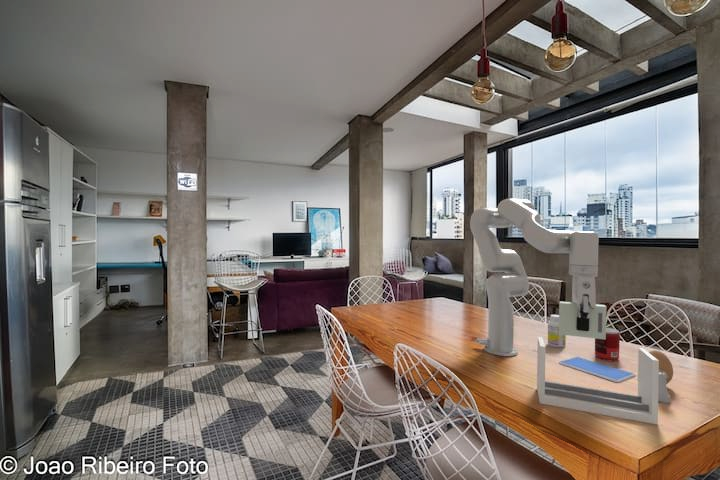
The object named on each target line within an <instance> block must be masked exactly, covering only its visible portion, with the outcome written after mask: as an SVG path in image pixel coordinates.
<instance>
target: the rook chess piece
mask: <svg viewBox="0 0 720 480" xmlns="http://www.w3.org/2000/svg"><path fill="white" fill-rule="evenodd" d="M667 378H668V376H667V373H665V372H663V371H662V373H661V371H659V378H658V403H663V404H669V403H670V402H671V401H672V400H671V395H670V394H669V392H668V389H667V384H666V383H667V381H666V379H667Z"/></svg>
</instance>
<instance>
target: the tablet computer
mask: <svg viewBox="0 0 720 480" xmlns="http://www.w3.org/2000/svg"><path fill="white" fill-rule="evenodd" d="M558 364H559V365H562V366H565V367H568V368H571V369H575V370H578V371H579V372H580V371H581V372H583V373H585V374H586V373H587V374H588V375H589V374H590V375H592V376H596V377H599V378H602V379H605V380H608V381H610V382H614V383H619V384H620V383H622V382H625V381H628V380H630V379H633V378H634V377H636V374H635V373H634V372H630V371H627V370H623V369H620V368H617V367H614V366H610V365H606V364H604V363H600V362H598V361H593V360H589V359H586V358H582V357H580V356H575V357H572V358H568V359H564V360H560V361H559V362H558Z"/></svg>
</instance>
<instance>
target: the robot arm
mask: <svg viewBox="0 0 720 480" xmlns="http://www.w3.org/2000/svg"><path fill="white" fill-rule="evenodd" d="M541 218H542V217H541V215H540V213H539V212H537V211H536V210H535V205H534V204H533V202H532V201H530V200H528V199H524V198H523V199H522V198H521V199H520V198H505V199H502V200H501V201H500V202H499V203H498V205H497V207H480V208H477V209H475V210H474V211H473V213H472V214H471V216H470V219H469V228H470V231H471V233H472V236H473V238H474V240H475V243H476V245H477V248H478V251H479V255H480V259H481V262H482V265H483V267H484V269H485V270H486V271H487V272H490V273H496V274H493V275H491V276H489V277H488V278H487V279H486V282H485V289H486V293H487V300H488V301H487V302H488V314H487V317H488V325H487V326H488V327H487V330H488V331H487V335H488V336H487V338H484V339H483V338H479V337H477V338H476V343H477V344H479V345H483V349H484V351H485V352H486V353H488V354H491V355H494V356H498V357H500V356H501V357H514V356H517V355H518V353H519V352H518V351H519V350H517V348H515V347H514V335H515V334H514V328H515V327H514V326H515V324H514V319H515V318H514V317H515V313H514V310H515V309H514V306H513V303H512V301H511V298H512V297H514V298H515V297H522V296H524V295H527V293H528V292H529V291H530V290H529V289H530V283H529V279H528V275H527V273H526V270H525V267H524V264H523V262H522V259H521V257H520V255H519V254H518V253H517V252H516V251H515V250H512V249H508V248H504V249H503V248H502V247H501V246H500V244H499V240H498V238H497V236H496V234H495V233H494V232H493V231H492V230H491V229H490V228H492V229H495V228H496V229H506V228H509V227H512V226H513V227H515V228H516V229H518V230H519V231H521V235H522V237H523V239H524V241H525V242H527V243H528V244H529V245H531V246H532V247H533V248H535V249H536V250H538V251H540V252H543V253H546V254H569V257H568V258H569V259H568V260H569V261H568V262H569V263H568V275H570V276H572V283H571V284H572V285H571V287H572V288H571V291H572V292H571V300H572V301H571V302H574V303H575V306H577V307H578V317H577V327H576V329H577V330H580V331H589V306H590V305H591V306H590V307H591V308H592V309H595V308H596V304H597V301H596V298H597V296H596V295H597V294H596V293H597V292H596V291H597V290H596V279H595V277H596V278H597V277H598V276H599V275H598V273H599V272H598V271H599V266H598V265H599V243H600V242H599V239H600V238H599V234H598V233H597V232H596V231H592V230H591V231H587V230H585V231H584V230H580V231H573V230H560V229H559V230H556V229H552V230H551V229H548V228H545V227H543V226H542V225H540V223H541V221H542V219H541ZM498 272H499V273H498ZM502 272H504V273H502ZM580 303H581V305H580ZM589 304H590V305H589ZM580 306H583V307H580Z"/></svg>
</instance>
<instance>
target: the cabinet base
mask: <svg viewBox="0 0 720 480" xmlns="http://www.w3.org/2000/svg"><path fill="white" fill-rule="evenodd" d="M649 352H650V351H648V350H646V349H645V348H644V347H643V348H642V347H638V352H637V354H638V355H637V357H638V360H637V361H638V362H637V365H638V366H637V395H636V394H630V393H623V392H618V391H610V390H604V389H599V388H593V387H586V386H579V385H574V384H573V385H572V384H567V383H560V382H555V381H554V382H553V381H547V380H546V344H545V342H544V338H543V337H542V336H537V357H536V359H537V360H536V361H537V362H536V363H537V364H536V368H537V370H536V391H537V395H538V401H539V404H542V405H549V406H554V407H560V408H564V409H570V410H575V411H576V410H577V411H581V412H585V413H592V414H598V415H604V416H607V417H614V418H619V419H626V420H630V421H634V422H640V423H646V424H652V425H659V402H658V378H659V360H657V359H656V358H655V357H654V356H652V355H651V354H650V353H649Z"/></svg>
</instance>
